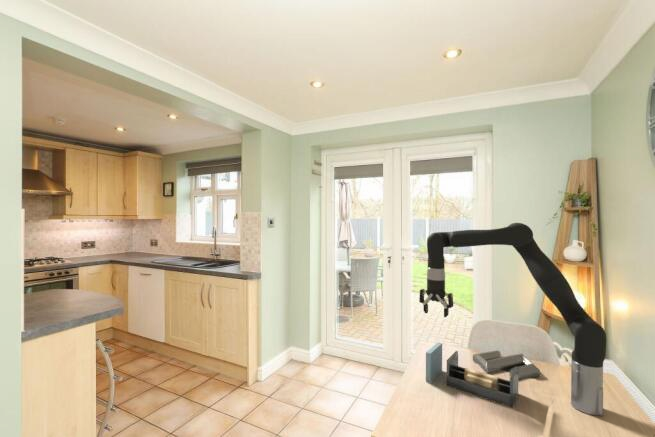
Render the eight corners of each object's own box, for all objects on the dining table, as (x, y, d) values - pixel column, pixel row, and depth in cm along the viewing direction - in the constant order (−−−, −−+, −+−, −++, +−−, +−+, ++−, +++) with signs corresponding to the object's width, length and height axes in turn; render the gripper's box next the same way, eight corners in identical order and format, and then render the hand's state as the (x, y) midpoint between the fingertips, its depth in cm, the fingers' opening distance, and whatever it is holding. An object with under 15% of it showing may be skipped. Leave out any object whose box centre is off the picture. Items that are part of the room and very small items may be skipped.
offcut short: (492, 396, 125) (492, 380, 125) (491, 398, 124) (491, 383, 124) (468, 388, 131) (468, 373, 131) (466, 390, 129) (466, 375, 129)
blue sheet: (430, 386, 135) (430, 353, 135) (425, 385, 136) (425, 352, 136) (442, 374, 146) (442, 343, 146) (437, 372, 147) (437, 342, 147)
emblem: (479, 341, 171) (542, 355, 154) (479, 351, 171) (542, 366, 154) (465, 360, 149) (537, 378, 132) (465, 371, 149) (537, 391, 132)
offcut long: (498, 394, 126) (498, 377, 126) (496, 397, 124) (497, 379, 124) (465, 384, 134) (466, 368, 134) (464, 386, 132) (464, 369, 132)
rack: (518, 397, 127) (518, 367, 127) (512, 411, 118) (513, 379, 118) (455, 377, 142) (455, 350, 142) (446, 389, 133) (446, 360, 133)
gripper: (417, 277, 143) (416, 313, 143) (449, 281, 134) (449, 320, 134) (423, 274, 149) (423, 309, 149) (455, 278, 140) (455, 315, 140)
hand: (435, 314), depth 142 cm, fingers open, 8 cm apart
